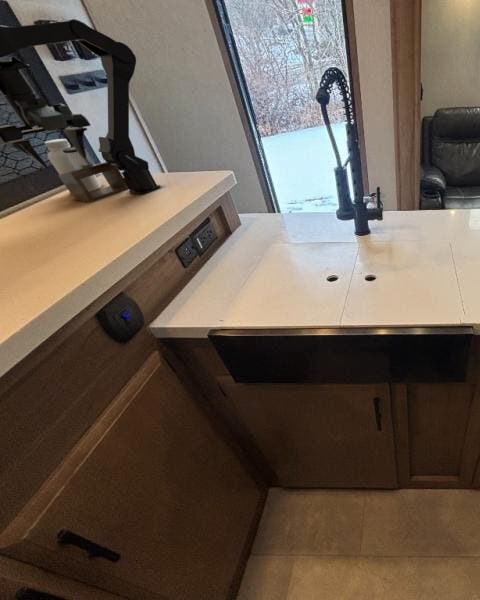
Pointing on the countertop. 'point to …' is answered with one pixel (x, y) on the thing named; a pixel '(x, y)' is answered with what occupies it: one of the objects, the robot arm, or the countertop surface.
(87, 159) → the spice tin
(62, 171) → the pill bottle
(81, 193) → the frame
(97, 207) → the countertop surface
